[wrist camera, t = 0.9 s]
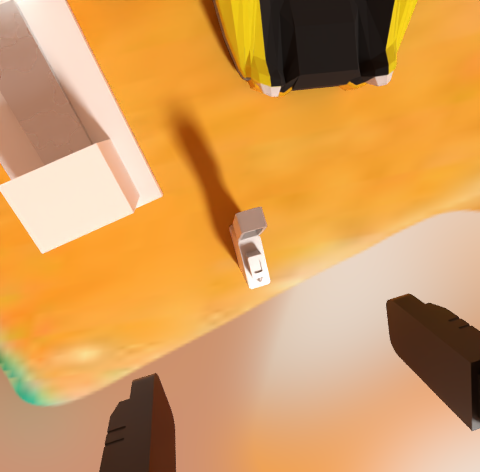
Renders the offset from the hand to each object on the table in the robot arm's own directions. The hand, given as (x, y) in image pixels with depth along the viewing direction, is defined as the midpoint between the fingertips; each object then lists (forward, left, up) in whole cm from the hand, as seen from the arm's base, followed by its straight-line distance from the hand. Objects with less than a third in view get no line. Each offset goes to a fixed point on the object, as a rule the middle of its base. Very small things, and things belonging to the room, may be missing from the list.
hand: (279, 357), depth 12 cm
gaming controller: (-13, -11, -20) cm, 26 cm away
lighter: (-2, +2, -20) cm, 20 cm away
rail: (+7, -13, -18) cm, 24 cm away
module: (+8, -6, -18) cm, 21 cm away
